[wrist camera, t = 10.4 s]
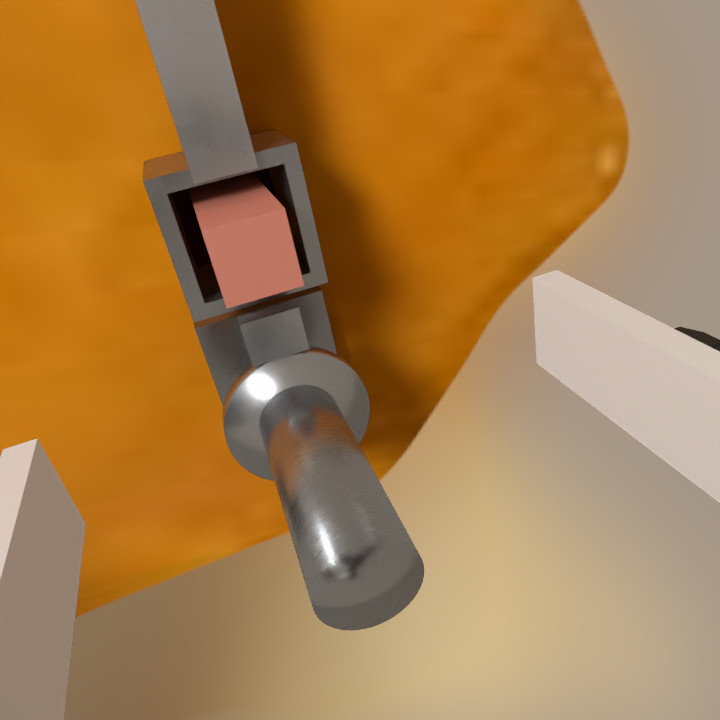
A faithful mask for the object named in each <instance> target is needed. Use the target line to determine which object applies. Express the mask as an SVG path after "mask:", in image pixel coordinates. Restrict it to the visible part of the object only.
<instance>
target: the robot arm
mask: <svg viewBox="0 0 720 720" xmlns="http://www.w3.org/2000/svg"><path fill="white" fill-rule="evenodd" d="M533 298H534V319H535V339H536V361H537V364H538V365H539V366H541V367H542V368H543V369H545V370H546V371H547V372H549V373H550V374H551V375H553V376H554V377H555V378H557V379H558V380H559V381H561V382H562V383H563V384H564V385H566V386H567V387H568V388H570V389H571V390H572V391H574V392H575V393H576V394H578V395H579V396H580V397H581V398H583V399H584V400H585V401H587V402H588V403H590V404H591V405H592V406H593V407H595V408H596V409H598V410H599V411H600V412H601V413H603V414H604V415H605V416H606V417H608V418H609V419H610V420H612V421H613V422H614V423H616V424H617V425H619V426H620V427H621V428H622V429H624V430H625V431H626V432H627V433H629V434H630V435H631V436H633V437H634V438H635V439H637V440H638V441H639V442H641V443H642V444H643V445H645V446H646V447H647V448H649V449H650V450H651V451H652V452H654V453H655V454H656V455H658V456H659V457H661V458H662V459H663V460H664V461H666V462H667V463H668V464H670V465H671V466H672V467H674V468H675V469H676V470H678V471H679V472H680V473H681V474H683V475H684V476H685V477H687V478H688V479H689V480H691V481H692V482H693V483H694V484H696V485H697V486H698V487H700V488H701V489H702V490H704V491H705V492H706V493H708V494H709V495H710V496H712V497H713V498H714V499H716V500H717V501H718V502H720V340H719V339H717V338H715V337H712V336H710V335H708V334H706V333H704V332H700V331H696V330H691V329H687V328H683V327H678V328H675V329H673V328H671V327H669V326H667V325H666V324H664V323H662V322H659V321H657V320H656V319H654V318H652V317H650V316H648V315H645V314H643V313H642V312H639V311H638V310H636V309H634V308H632V307H630V306H628V305H626V304H624V303H621V302H620V301H618V300H616V299H614V298H612V297H610V296H608V295H606V294H604V293H602V292H600V291H598V290H596V289H594V288H592V287H590V286H588V285H586V284H584V283H582V282H580V281H578V280H576V279H574V278H572V277H570V276H568V275H566V274H564V273H562V272H560V271H558V270H556V271H552V272H549V273H546V274H543V275H540V276H537V277H534V278H533ZM85 525H86V523H85V522H84V520H83V518H82V516H81V514H80V513H79V511H78V509H77V507H76V506H75V504H74V502H73V500H72V499H71V497H70V495H69V493H68V492H67V490H66V488H65V486H64V484H63V483H62V481H61V479H60V477H59V476H58V474H57V472H56V470H55V469H54V467H53V465H52V463H51V462H50V460H49V458H48V456H47V454H46V453H45V451H44V449H43V447H42V446H41V444H40V442H39V440H38V439H34V440H31V441H28V442H25V443H22V444H19V445H16V446H13V447H10V448H7V449H4V450H3V451H2V454H1V457H0V720H64V715H65V705H66V697H67V688H68V679H69V669H70V661H71V652H72V643H73V633H74V624H75V616H76V607H77V597H78V588H79V579H80V570H81V561H82V552H83V543H84V534H85Z"/></svg>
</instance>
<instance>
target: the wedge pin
mask: <svg viewBox="0 0 720 720" xmlns="http://www.w3.org/2000/svg"><path fill="white" fill-rule="evenodd" d="M188 190H189V193H190V196H191V200H192V203H193V206H194V209H195V213H196V216H197V219H198V222H199V225H200V229H201V232H202V235H203V238H204V241H205V244H206V247H207V250H208V253H209V256H210V259H211V262H212V265H213V268H214V271H215V275H216V278H217V281H218V284H219V287H220V290H221V293H222V296H223V299H224V302H225V305H226V308H227V309H228V308H231V307H234V306H238V305H241V304H245V303H248V302H251V301H255V300H258V299H261V298H265V297H268V296H271V295H275V294H278V293H282V292H285V291H288V290H292V289H295V288H298V287H302V286H304V282H303V278H302V274H301V270H300V267H299V263H298V259H297V255H296V251H295V247H294V243H293V239H292V235H291V231H290V227H289V223H288V219H287V215H286V211H285V208H284V207H283V206H282V204H281V203H280V202H279V201H278V200H277V199H276V198H275V197H274V196H273V195H272V193H271V192H270V191H269V190H268V189H267V188H266V187H265V186H264V185H263V184H262V182H261V181H260V180H259V179H258V178H257V177H256V176H255V175H254V174H253V173H252V172H250V173H246V174H242V175H238V176H234V177H230V178H227V179H223V180H219V181H215V182H211V183H207V184H203V185H199V186H196V187H192V188H188Z"/></svg>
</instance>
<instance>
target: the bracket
mask: <svg viewBox="0 0 720 720" xmlns="http://www.w3.org/2000/svg"><path fill="white" fill-rule="evenodd" d="M135 3H136V6H137V9H138V12H139V16H140V19H141V22H142V25H143V28H144V31H145V34H146V37H147V41H148V44H149V47H150V50H151V53H152V56H153V59H154V62H155V65H156V69H157V72H158V75H159V78H160V81H161V84H162V87H163V90H164V93H165V97H166V100H167V103H168V106H169V109H170V112H171V115H172V118H173V121H174V125H175V128H176V131H177V134H178V137H179V140H180V143H181V146H182V150H183V152H179V153H175V154H171V155H167V156H163V157H159V158H155V159H151V160H147V161H144V168H143V182H144V185H145V188H146V190H147V193H148V196H149V199H150V201H151V204H152V207H153V210H154V212H155V215H156V218H157V221H158V223H159V226H160V229H161V232H162V235H163V237H164V240H165V243H166V246H167V248H168V251H169V254H170V257H171V259H172V262H173V265H174V268H175V271H176V273H177V276H178V279H179V282H180V284H181V287H182V290H183V293H184V295H185V298H186V301H187V304H188V307H189V309H190V312H191V315H192V318H193V320H194V322H197V321H201V320H204V319H207V318H211V317H214V316H218V315H221V314H224V313H228V312H231V311H234V310H238V309H241V308H244V307H248V306H251V305H254V304H258V303H261V302H264V301H268V300H271V299H275V298H278V297H281V296H285V295H288V294H291V293H295V292H298V291H301V290H305V289H308V288H311V287H315V286H318V285H322V284H325V283H328V278H327V274H326V269H325V265H324V261H323V256H322V252H321V248H320V243H319V239H318V235H317V230H316V226H315V221H314V217H313V213H312V208H311V204H310V200H309V195H308V191H307V187H306V182H305V178H304V173H303V169H302V165H301V160H300V156H299V152H298V147H297V143H296V142H295V141H293V140H292V139H290V138H288V137H286V136H285V135H283V134H281V133H279V132H278V131H276V130H274V129H272V130H268V131H264V132H260V133H256V134H252V135H249V131H248V127H247V124H246V120H245V116H244V112H243V108H242V105H241V101H240V97H239V93H238V90H237V86H236V82H235V78H234V74H233V71H232V67H231V63H230V59H229V55H228V52H227V48H226V44H225V40H224V37H223V33H222V29H221V25H220V21H219V18H218V14H217V10H216V6H215V3H214V0H135ZM265 168H269V171H270V175H271V179H272V183H273V187H274V191H275V195H276V199H277V200H278V201H279V202H280V203H281V204H282V206H283V207H284V208H285V211H286V215H287V219H288V223H289V227H290V231H291V235H292V239H293V243H294V247H295V251H296V255H297V259H298V263H299V267H300V270H301V274H302V278H303V282H304V286H302V287H298V288H295V289H292V290H288V291H285V292H282V293H278V294H275V295H271V296H268V297H265V298H261V299H258V300H255V301H251V302H248V303H245V304H241V305H238V306H234V307H231V308H228V309H227V308H226V305H225V302H224V299H223V296H222V293H221V290H220V287H219V284H218V281H217V278H216V275H215V271H214V268H213V265H212V264H210V265H206V266H203V267H199V268H196V265H195V262H194V259H193V256H192V254H191V251H190V248H189V245H188V242H187V239H186V236H185V233H184V230H183V227H182V224H181V221H180V218H179V216H178V213H177V210H176V207H175V204H174V201H173V198H172V195H171V193H172V192H176V191H180V190H184V189H188V188H192V187H196V186H199V185H203V184H207V183H211V182H215V181H219V180H223V179H227V178H230V177H234V176H238V175H242V174H246V173H250V172H254V171H258V170H262V169H265Z"/></svg>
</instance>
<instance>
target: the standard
mask: <svg viewBox="0 0 720 720" xmlns="http://www.w3.org/2000/svg"><path fill="white" fill-rule="evenodd" d="M194 326H195V330H196V333H197V336H198V338H199V341H200V344H201V347H202V349H203V352H204V355H205V358H206V361H207V363H208V366H209V369H210V372H211V374H212V377H213V380H214V383H215V385H216V388H217V391H218V394H219V396H220V399H221V402H222V405H223V427H224V432H225V437H226V441H227V444H228V447H229V449H230V451H231V453H232V455H233V456H234V457H235V459H236V460H237V461H238V462H239V463H240V464H241V466H243V467H244V468H245V469H247V470H248V471H249V472H251V473H253V474H255V475H257V476H259V477H262V478H264V479H268V480H272V481H275V484H276V487H277V490H278V494H279V497H280V500H281V504H282V507H283V510H284V514H285V517H286V520H287V524H288V527H289V530H290V534H291V537H292V540H293V543H294V547H295V550H296V553H297V557H298V560H299V563H300V567H301V570H302V573H303V577H304V580H305V583H306V587H307V590H308V593H309V597H310V600H311V603H312V606H313V610H314V612H315V614H316V615H317V617H318V618H319V619H320V620H321V621H322V622H323V623H325V624H327V625H328V626H331V627H333V628H337V629H341V630H360V629H366V628H369V627H373V626H376V625H379V624H381V623H383V622H385V621H387V620H389V619H391V618H392V617H394V616H395V615H397V614H398V613H400V612H401V611H402V610H403V609H404V608H405V607H406V606H407V605H408V604H409V603H410V602H411V601H412V600H413V598H414V597H415V596H416V594H417V593H418V591H419V589H420V587H421V584H422V582H423V577H424V565H423V561H422V559H421V557H420V555H419V553H418V551H417V549H416V548H415V546H414V544H413V542H412V540H411V539H410V537H409V535H408V533H407V531H406V529H405V528H404V526H403V524H402V522H401V520H400V518H399V517H398V515H397V513H396V511H395V509H394V507H393V506H392V504H391V502H390V500H389V498H388V497H387V495H386V493H385V491H384V489H383V487H382V485H381V484H380V482H379V480H378V478H377V476H376V475H375V473H374V471H373V469H372V467H371V465H370V464H369V462H368V460H367V458H366V456H365V454H364V453H363V451H362V449H361V447H360V445H359V443H360V441H361V440H362V438H363V436H364V434H365V431H366V429H367V425H368V422H369V416H370V403H369V397H368V393H367V390H366V388H365V386H364V384H363V382H362V380H361V379H360V377H359V376H358V374H357V373H356V372H355V370H354V369H353V367H352V366H351V365H350V364H349V363H348V362H347V361H345V360H344V359H343V358H342V357H340V356H338V355H337V351H336V347H335V343H334V339H333V335H332V330H331V326H330V322H329V318H328V313H327V309H326V305H325V301H324V297H323V292H322V290H321V288H320V287H319V286H315V287H311V288H308V289H305V290H301V291H298V292H295V293H291V294H288V295H285V296H281V297H278V298H275V299H271V300H268V301H264V302H261V303H258V304H254V305H251V306H248V307H244V308H241V309H238V310H234V311H231V312H228V313H224V314H221V315H218V316H214V317H211V318H207V319H204V320H201V321H197V322H194Z"/></svg>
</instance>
